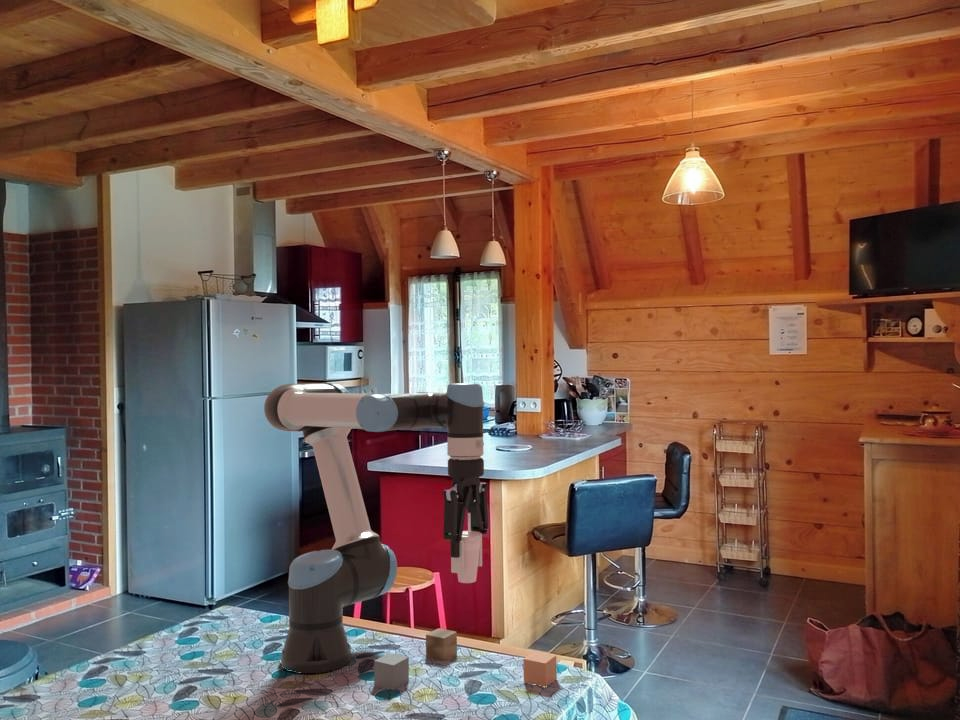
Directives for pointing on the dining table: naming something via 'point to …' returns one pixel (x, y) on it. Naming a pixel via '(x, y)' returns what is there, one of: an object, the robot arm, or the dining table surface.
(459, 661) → the dining table surface
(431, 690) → the dining table surface
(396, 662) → the grey cube
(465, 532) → the smoothie
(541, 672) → the terracotta block
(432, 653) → the walnut block
